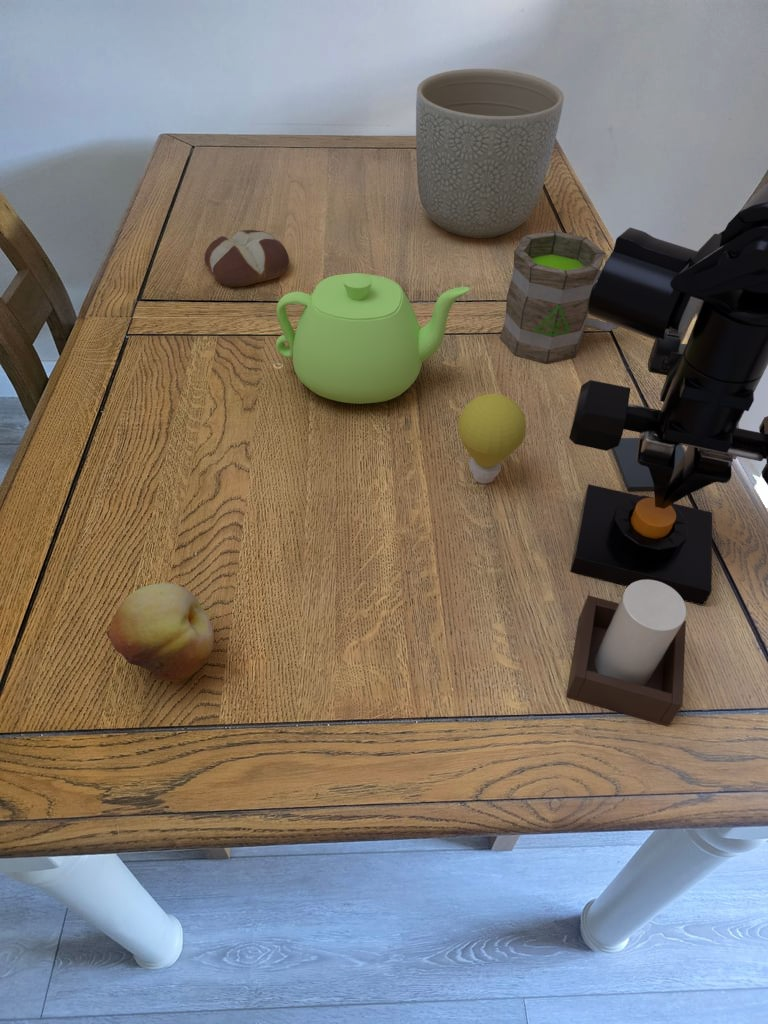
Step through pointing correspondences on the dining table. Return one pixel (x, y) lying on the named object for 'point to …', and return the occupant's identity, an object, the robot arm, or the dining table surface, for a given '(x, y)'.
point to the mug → (551, 296)
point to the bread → (246, 258)
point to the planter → (484, 147)
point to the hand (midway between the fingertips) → (659, 504)
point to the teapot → (360, 337)
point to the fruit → (163, 631)
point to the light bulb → (490, 433)
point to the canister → (640, 631)
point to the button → (652, 519)
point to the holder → (618, 695)
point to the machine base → (643, 546)
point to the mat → (637, 465)
